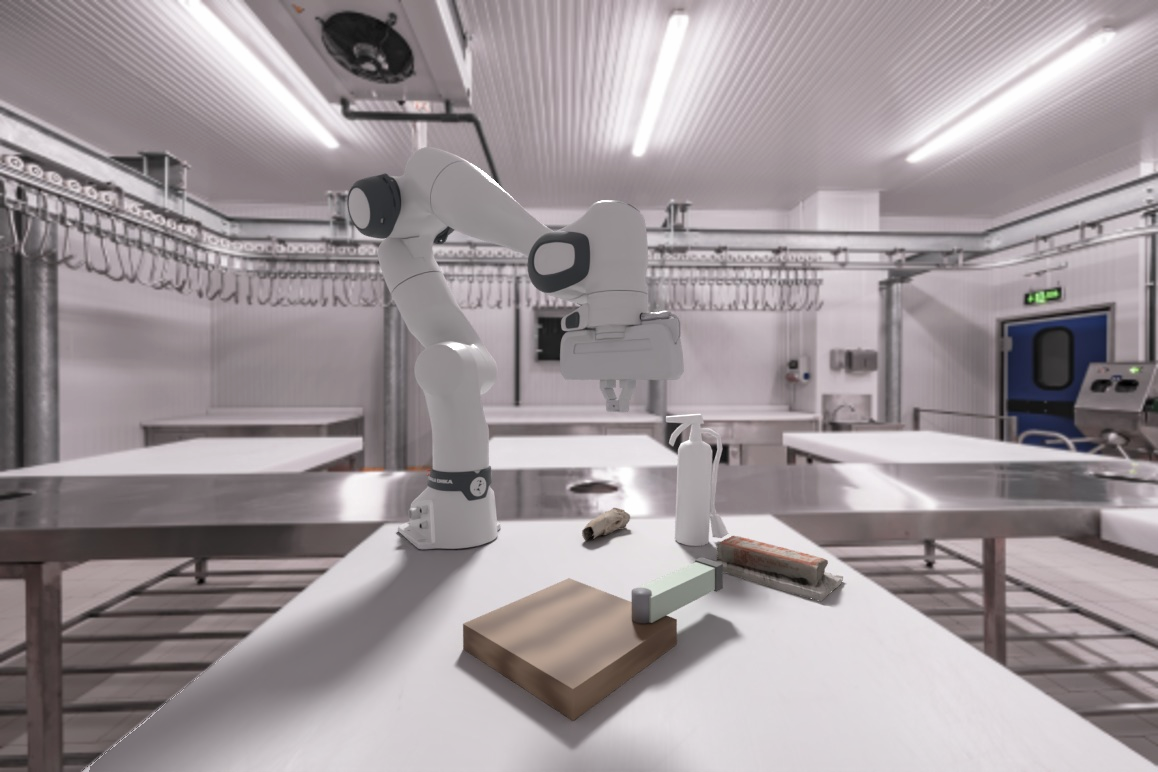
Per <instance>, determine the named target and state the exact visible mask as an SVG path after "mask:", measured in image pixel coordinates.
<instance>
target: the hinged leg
mask: <svg viewBox="0 0 1158 772" xmlns="http://www.w3.org/2000/svg"><path fill="white" fill-rule="evenodd" d="M712 560H713V559H712ZM712 560H711V559H708V558H705V557H702V556H701V557H699V558H697V559H695V560H694V562H693V563H691V564H688V565H686V566H684V567H681V568H679V569H676V570H674V571H672V572H670V573H667V574H665V575H663V576H660V577H659V578H656V579H654V580H651V581H649V582H646V583H644V584H642V585H639V586H637V587H636V588H633V589H631V602H632V620H633V621H634V622H637V623H648V622H650V623H652V622H654V621H656V620H658V619H660V618H662V617H664V616H666V615H667V616H669V615H670V614H672V613H674V612H676V611H677V610H679V609H681V608H683V607H685V606H687V605H689V604H691V603H693V602H695V601H697V600H700V598H702V597H705V596H706V595H708V594H710V593H712V592H715V593H718V592H719V591H720V590H723V589H724V572H723V564H722V563H718V562H715V561H714V560H713V561H712Z"/></svg>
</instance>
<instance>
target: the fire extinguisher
mask: <svg viewBox="0 0 1158 772" xmlns="http://www.w3.org/2000/svg"><path fill="white" fill-rule="evenodd" d="M665 422H666V423H676V424H680V425H679V426H678V427H676V429H675V430H674V431H673V432H672V433H671V435H670V438H669V442H668V444H669V445H670V446H671V447H674V445H675V443H676V440H677V438H678V437H679V435H680V434H681V433H682V432H684V430H685V429H687V428H688V427H689V426H690V432H689V437H688V440H686V441H685V440H684V441H683V442H681V443H680V445H679V447H678V449H677V465H676V467H677V468H676V469H677V470H676V490H675V491H676V495H675V516H674V517H675V519H674V523H675V525H674V540H675V541H676V542H677V543H679V544H682V545H685V546H691V547H702V546H706V545H705V544H707V545H708V543H709V542H710V541H709V540H710V527H711V534H712V538H717V539H722V538H724V537H726V536H727V535H729V532H728V530H727V527H726V525H725V523H724V521H723V519H722V517H721V515H720V514H718V513H717V508H716V504H715V502H716V491H717V481H718V476H719V475H718V473H719V465H720V464H719V463H720V461H721V456H722V452H723V441H722V436H721V435H722V434H720V433H719V432H717V431H715V430H714V429H712V428H709V427H707V428H706V427H702V426H701V425H704V424H705V422H704V418H703V415H702V414H701V413H692V414H680V415H677V414H676V415H666V416H665ZM702 434H709V435H711V436H712V437H714V438H716V449H717V450H716V453H715V457H714V460H713V449H712V447H711V445H710V444H709V443H707V442H705V441H703V436H702ZM710 525H711V526H710ZM708 541H709V542H708ZM701 545H702V546H701Z"/></svg>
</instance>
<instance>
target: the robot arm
mask: <svg viewBox="0 0 1158 772" xmlns="http://www.w3.org/2000/svg"><path fill="white" fill-rule="evenodd" d="M404 168H405V169H404V171H403V174H402V175H400V176H396V175H390V176H389V174H388V173H386V172H385V173H381V174H377V175H372V176H368V177H365V178H361V179H358V180H356V181H355V182H354V183H353V184H352V185H351V187H350V188H349V191H348V194H347V200H346V203H347V210H348V215H349V218H350V220H351V223H352V224H353V226H354V227H355V228H356V230H357V231H358V232H359V233H360V234H361V235H363V236H366V237H369V238H373V239H380V240H381V239H383V240H382V241H381V242H380V244H379V246H378V248H377V259H378V262H379V263H378V264H379V266H380V270H381V273H382V276H383V279H384V281H385V284H386V287H387V289H388V290H389V293H390V295H391V298H392V299H393V301H394V303H395V306H396V307H397V309H398V311H399V314H400V316H401V318H402V319H403V321H404V323H405V325H406V328H407V330H408V331H409V333H411V335H412V336H413V337H414V338H416V340H418V342H419V343H420V344H421V346H422V347H423V348H424V349H423V350H422V351H421V352H420V353H419V354H418V356H417V357H416V360H415V363H414V371H413V372H414V376H415V380H416V383H417V385H418V386H419V387H420V389H421V391H422V392H423V395H424V398H425V403H426V407H427V412H428V416H429V420H430V427H431V437H432V438H431V439H432V442H431V444H432V446H431V447H432V468H430V469H427V470H426V472H429V473H427V474H426V476H428V478H427V479H428V481H427V487H426V488H425V489H424V490H423V491H422V492H421V493H420V494H419V495H418V496H417V497H416V498H414V500H413V501H412V502H411V503H410V508H409V509H408V511H407V513H408V518H409V521H407V522H404V523H402V524H400V525H398V526H397V532H399V534H400V535H402V536H403V537H404V538H405V539H407V540H408V542H409V543H411V544H412V545H413V546H414V547H416V548H417V549H419V550H433V549H444V550H445V549H448V550H449V549H451V550H453V549H454V550H455V549H466V548H474V547H478V546H483V545H485V544H487V543H490V542H492V541H494V540H495V539H497V538H498V537H499V533H498V531H499V530H501V526H502V525H501V522H499V521H498V519H497V508H496V497H495V492H494V490H493V489H492V488H491V485H492V479H493V478H492V477H493V472H492V466H491V465H490V428H489V425H488V423H487V421H486V417H485V413H484V408H483V403H482V395H484V394H486V393H487V392H488V391H490V390H491V388H492V387H493V386H494V385H495V383H496V382H497V380H498V377H499V367H498V363H497V362H496V360H495V358H494V357H493V355H492V354H491V353H490V352H489V350H488V348H487V347H486V345H485V343H484V342H483V340H482V339H481V337H480V336H479V334H478V332H477V331H476V329H475V328H474V326H473V325H472V324H471V322H470V321H469V319H468V318H467V316H466V315H465V313H464V312H463V310H462V308H461V306H460V305H459V302H458V301H457V298H456V296H455V295H454V293H453V291H452V289H451V287H450V285H449V284H448V280H447V279H446V277H445V275H444V273H443V272H442V270H441V268H440V266H439V264H438V262H437V261H436V258H435V255H434V251H433V248H434V247H433V245H434V244H436V245H442V244H444V243H446V241H447V239H448V237H449V236H450V235H451V234H452V233H453V232H454V231H456V232H459V233H461V234H463V235H466V236H468V237H471V238H474V239H477V240H479V241H484V242H487V243H489V244H493V245H497V246H500V247H504V248H507V249H510V250H512V251H515V252H518V253H519V254H522V255H523V256H526V258H527V264H526V265H527V274H528V277H529V280H530V282H531V283H532V285H533V286H534V288H536V290H538V291H540V292H542V293H543V294H545V295H548V296H551V297H553V298H557V299H560V300H563V301H568V302H570V303H573V304H574V303H575V304H576V305H579V307H578V308H576V309H575V310H573V311H571V312H569V313H568V314H566V315H565V316H563V317H562V319H561V321H560V325H561V326H560V327H561V330H562V331H564V332H565V333H564V334H563V335H562V338H561V341H560V351H559V352H560V353H559V362H560V363H559V364H560V365H559V366H560V367H559V368H560V369H559V370H560V374H561V375H562V378H563V379H564V380H565V381H599V389H600V391H601V393H602V395H603V398H604V399H605V405H606V406H605V410H606V411H607V412H608V413H629V412H630V400H631V399H632V397H633V394H634V392H635V391H636V389H637V381H647V380H648V381H650V380H651V381H677V380H680V378H682V377H681V376H682V375H683V373H684V371H685V369H684V368H685V367H684V366H685V365H684V354H683V348H682V347H683V346H682V341H681V336H682V323H681V322H682V321H681V319H680V318H679V316H678V315H676V314H675V313H672V311H671V310H662V311H659V312H658V311H657V312H654V311H653V312H649V290H648V287H647V282H646V274H647V271H648V267H649V247H648V245H649V244H648V235H647V234H648V233H647V223H646V220H645V217H644V215H643V213H641V211H640V210H639V209H637V207H634V206H633V205H631V204H629V203H626V202H623V201H620V200H614V199H613V200H612V199H606V200H604V199H603V200H600V201H596V202H594V203H593V204H591V205H590V206H589V208H588V209H587V211H586V212H585V213H584V214H583V215H582V216H580V217H579V218H578V219H577V220H575V221H573V222H572V223H569V224H568V225H566V226H563V228H560V229H558V230H556V231H555V230H553V229H552V228H550V227H548V226H547V225H546V224H544V223H542V222H541V221H540V220H538V219H537V218H536V217H534V216H533V215H532V214H531V213H530V212H529V211H528V210H527V209H525V208H524V207H523V206H522V205H521V204H520V203H519V202H518V201H516V200H515V199H514V198H513V196H511V195H510V194H509V193H508V192H507V191H506V190H504V188H502V187H501V186H500V185H499V183H497V182H496V181H495V180H494V179H493V178H491V176H489V175H488V174H487V173H486V172H485V171H484V170H481V168H479V167H478V166H476V165H474V163H471V162H469V161H468V160H466V159H465V158H462V157H460V156H459V155H457V154H454V153H453V152H452V153H451V152H449V151H447V150H444V149H441V148H437V147H433V146H426V147H421V148H419V149H417V150H415V151H414V152H413V153H412V154H411V155H410V156H409V157H408V159H407V162H406V164H405V167H404ZM617 381H618V383H619V385H618V386H619V389H621V392H620V394H619V397H618V398H617V395H616V392H615V390H614V388H616V387H617Z"/></svg>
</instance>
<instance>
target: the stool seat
mask: <svg viewBox="0 0 1158 772" xmlns="http://www.w3.org/2000/svg"><path fill="white" fill-rule="evenodd" d="M677 626H678V620H677V618H675V617H671V616H669V615H666V616H664V617H662V618H660V619H658V620H656V621H654V622H652V623H650V622H648V623H637V622H634V621H633V620H632V601H631V600H627V599H624V598H623V597H619V596H617V595H614V594H611V593H609V592H607V591H605V590H602V589H599V588H596V587H594V586H591V585H588V584H586V583H583V582H580V581H578V580H576V579H572V578H570V577H568V578H567V579H564V580H561V581H560V582H557V583H555V584H552V585H550V586H548V587H545V588H543V589H540V590H539V591H536V592H534V593H531V594H529V595H527V596H524V597H522V598H520V599H517V600H515V601H513V602H510V603H508V604H506V605H504V606H501V607H499V608H496V609H494V610H492V611H490V612H486V613H485V614H482V615H480V616H478V617H476V618H473V619H470V620H468V621H466V622H464V623H462V646H463V647H462V648H463V650H464V651H466V652H467V653H469V654H470V655H472V656H474V657H475V658H476V659H478V660H479V661H481V662H482V663H483V664H486V665H487V666H489V667H490V668H492V669H494V670H495V671H496V672H497V673H500V674H501V675H502V676H505V678H507V679H509V680H510V681H511V682H512V683H515V684H516V685H517V686H519V687H521V688H522V689H524V690H525V691H527V692H528V693H530V694H532V696H535V698H537V699H539V700H540V701H542V702H544V703H545V704H547V705H548V706H550V707H551V708H552V709H554V710H556V711H557V712H559V713H560V714H561V715H563V716H565V717H567V718H568V719H569V720H571V721H573V722H574V721H575V720H577V719H578V718H579V717H581V716H583V714H584V713H586V712H587V711H588V710H590V709H591V708H593V707H594V706H596V705H597V704H598V703H599V702H601V701H602V700H604V699H605V698H606V697H607V696H609V695H610V694H611V693H613V692H615V690H617V689H619V688H620V687H621V686H623V684H625V683H626V682H628V681H629V680H630V679H632V678H633V677H635V676H636V675H637V674H639V673H640V672H641V671H643V670H645V668H647V667H649V666H650V665H651V664H652V663H654V662H655V661H656V660H657V659H659V658H660V657H663V655H664V654H666V653H667V652H668V651H670V650H671V649H672V648H674V647H675V646H676V645H678V643H677V642H678V628H677Z"/></svg>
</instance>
